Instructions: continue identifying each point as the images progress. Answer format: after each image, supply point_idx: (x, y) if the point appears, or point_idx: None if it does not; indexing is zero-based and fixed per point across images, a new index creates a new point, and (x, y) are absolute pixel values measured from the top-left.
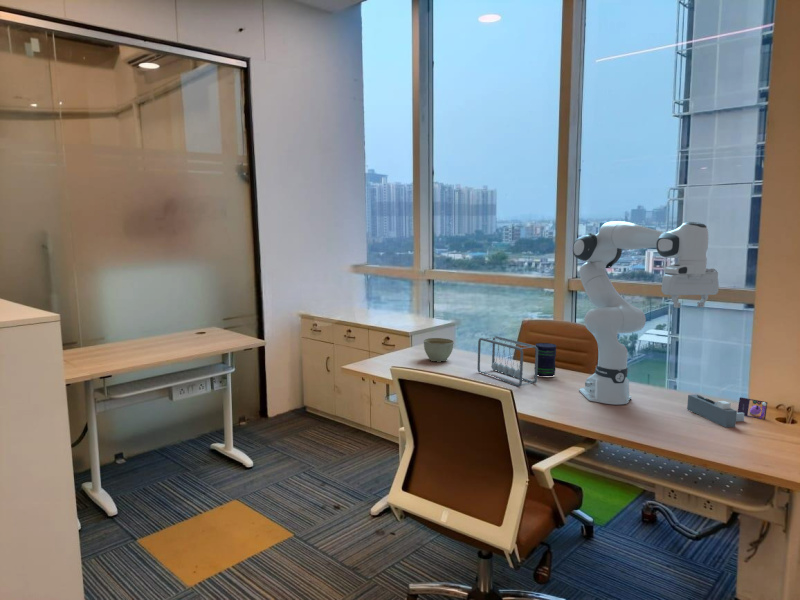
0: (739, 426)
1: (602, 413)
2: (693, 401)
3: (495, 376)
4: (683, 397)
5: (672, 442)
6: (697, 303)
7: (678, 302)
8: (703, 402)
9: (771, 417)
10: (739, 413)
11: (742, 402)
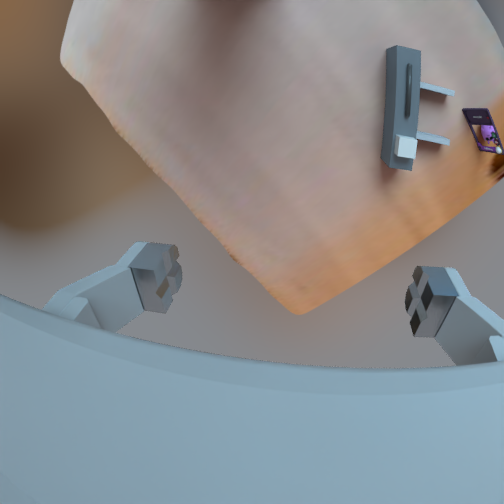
0: None
1: (176, 44)
2: (393, 64)
3: None
4: None
5: (224, 197)
6: (428, 284)
7: (139, 314)
8: (394, 96)
9: None
10: (439, 142)
11: (482, 114)
